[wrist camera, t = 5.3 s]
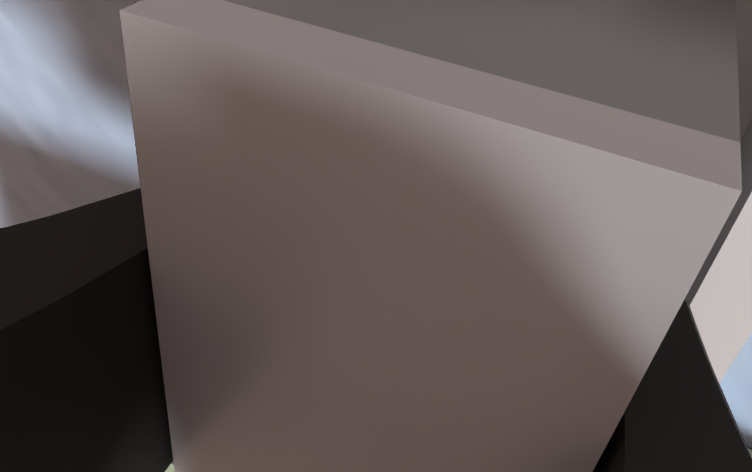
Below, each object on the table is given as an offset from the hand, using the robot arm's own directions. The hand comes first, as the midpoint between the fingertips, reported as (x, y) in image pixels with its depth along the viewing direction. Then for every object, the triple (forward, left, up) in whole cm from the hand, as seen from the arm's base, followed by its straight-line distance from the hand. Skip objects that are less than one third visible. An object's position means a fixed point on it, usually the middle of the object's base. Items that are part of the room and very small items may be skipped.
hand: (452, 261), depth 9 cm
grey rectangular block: (0, 0, -2) cm, 2 cm away
